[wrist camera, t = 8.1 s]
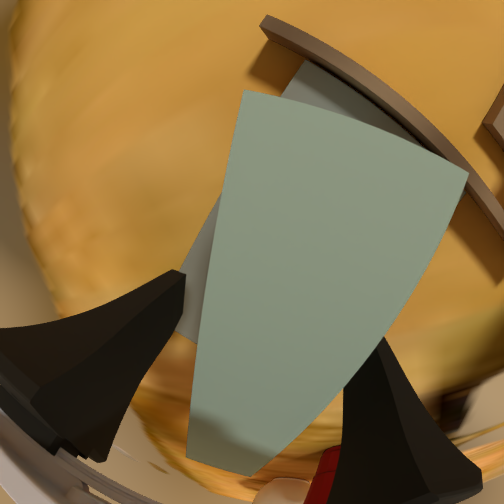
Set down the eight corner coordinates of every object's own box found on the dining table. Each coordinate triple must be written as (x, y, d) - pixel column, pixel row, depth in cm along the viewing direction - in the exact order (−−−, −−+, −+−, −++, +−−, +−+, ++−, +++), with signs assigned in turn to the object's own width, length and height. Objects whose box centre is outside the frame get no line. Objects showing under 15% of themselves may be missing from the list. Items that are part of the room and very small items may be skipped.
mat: (458, 187, 10) (465, 192, 9) (270, 374, 19) (268, 383, 18) (306, 63, 10) (305, 59, 9) (161, 310, 18) (155, 318, 17)
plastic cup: (328, 427, 21) (310, 542, 11) (411, 438, 21) (411, 534, 10) (285, 457, 27) (264, 539, 17) (358, 468, 26) (349, 543, 16)
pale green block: (370, 131, 10) (469, 172, 3) (279, 361, 17) (250, 476, 10) (294, 107, 10) (243, 89, 3) (230, 346, 17) (185, 457, 10)
